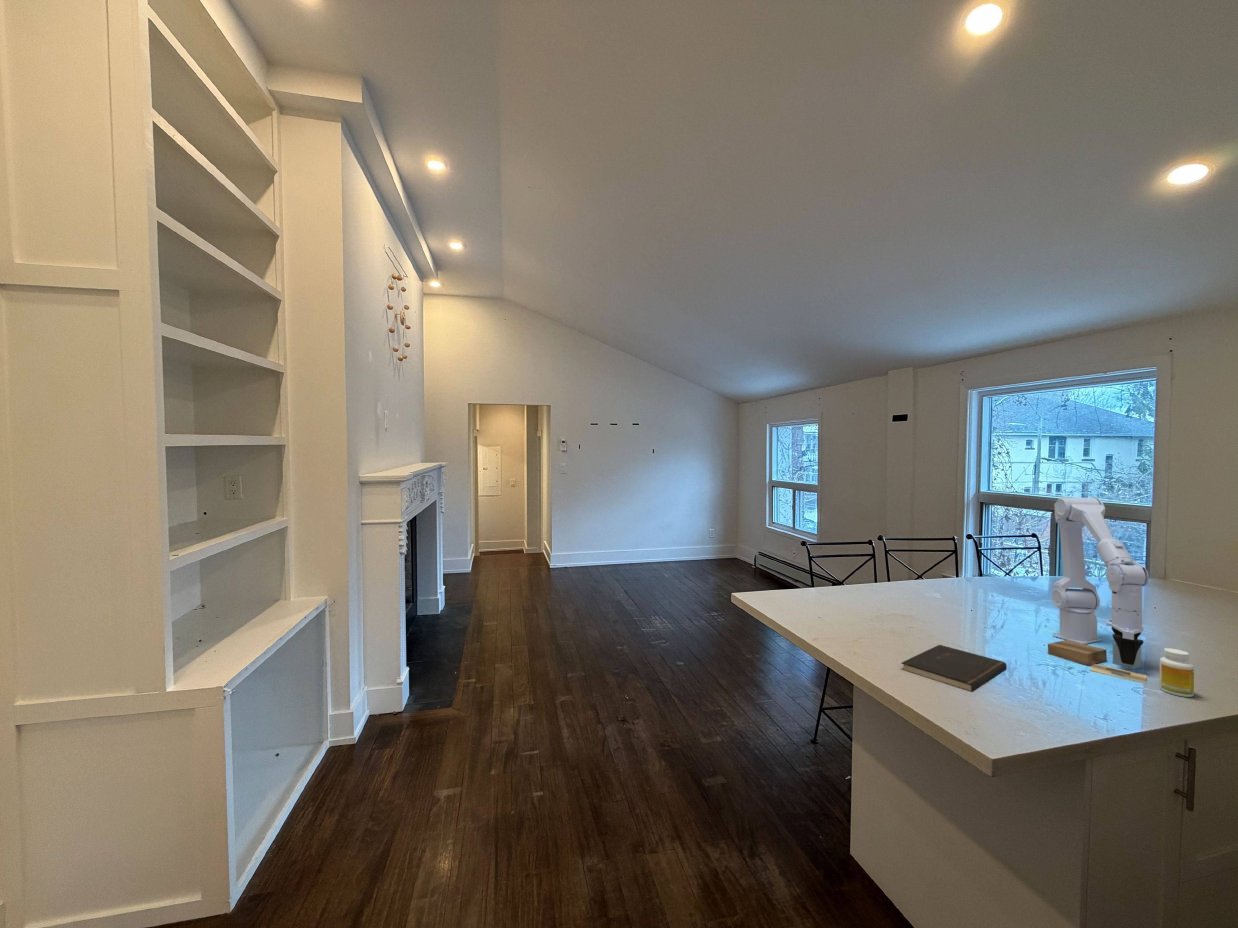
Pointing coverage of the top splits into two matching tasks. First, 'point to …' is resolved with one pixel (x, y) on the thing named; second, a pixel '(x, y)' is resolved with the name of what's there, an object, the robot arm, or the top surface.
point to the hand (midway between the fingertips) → (1126, 659)
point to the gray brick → (1118, 662)
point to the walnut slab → (1077, 652)
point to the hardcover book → (955, 667)
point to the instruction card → (1119, 673)
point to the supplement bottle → (1176, 673)
